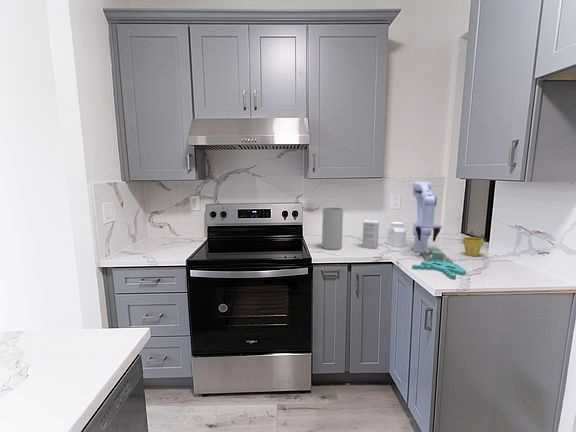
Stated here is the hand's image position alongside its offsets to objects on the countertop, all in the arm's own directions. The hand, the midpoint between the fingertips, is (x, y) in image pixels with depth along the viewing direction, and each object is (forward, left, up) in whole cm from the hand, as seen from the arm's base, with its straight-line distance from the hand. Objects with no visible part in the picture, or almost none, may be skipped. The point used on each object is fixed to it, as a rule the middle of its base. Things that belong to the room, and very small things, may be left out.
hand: (426, 240), depth 174 cm
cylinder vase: (-8, -54, -10) cm, 55 cm away
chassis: (+2, +5, -9) cm, 11 cm away
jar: (-26, -13, -10) cm, 31 cm away
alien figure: (+23, +3, -10) cm, 25 cm away
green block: (+2, +5, -8) cm, 10 cm away
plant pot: (-12, +28, -10) cm, 32 cm away
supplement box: (-17, -30, -10) cm, 36 cm away
